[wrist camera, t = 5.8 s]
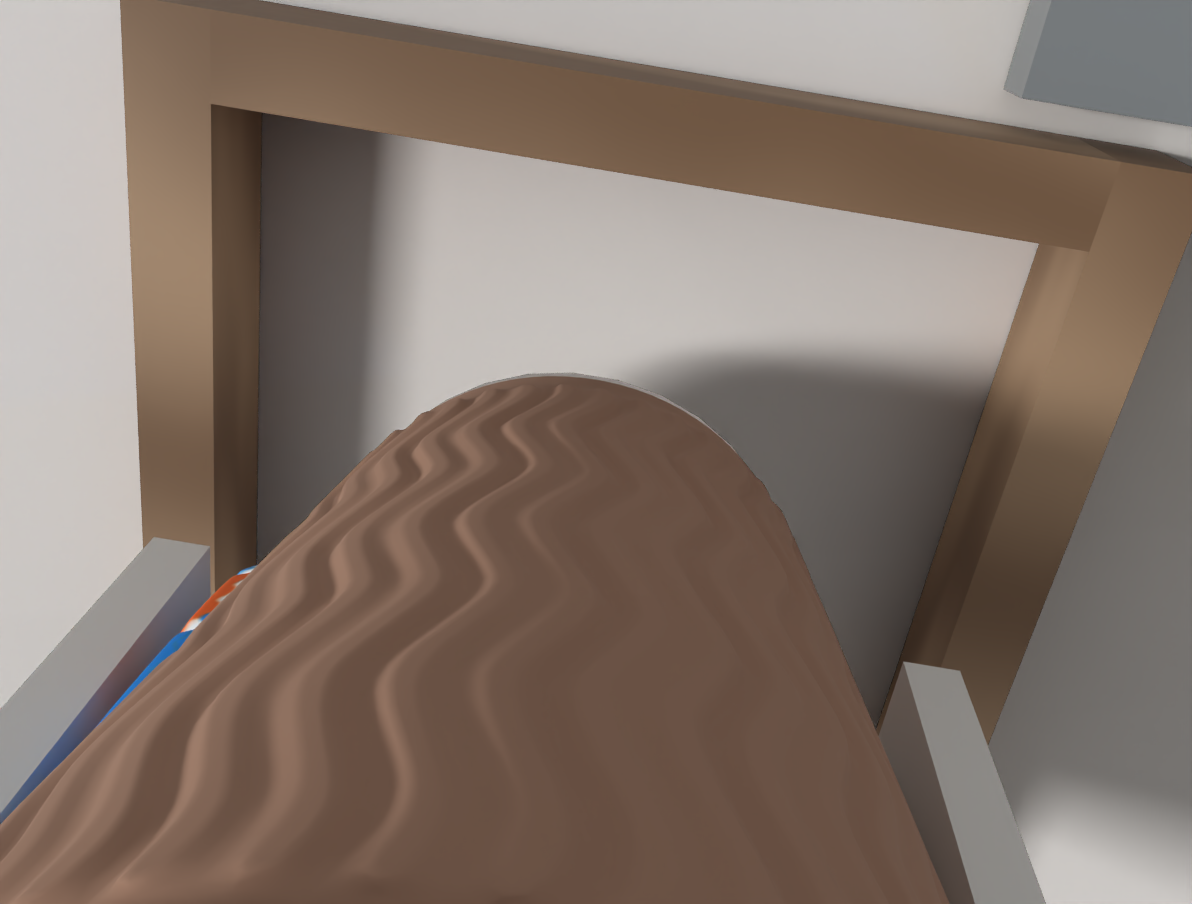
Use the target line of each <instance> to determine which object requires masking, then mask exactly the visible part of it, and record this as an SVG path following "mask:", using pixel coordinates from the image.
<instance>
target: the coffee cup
mask: <svg viewBox="0 0 1192 904" xmlns="http://www.w3.org/2000/svg"><path fill="white" fill-rule="evenodd" d="M0 904H950V903H949V901H948V898H947V896H946V894H945V891H944V889H943V887H942V885H941V882H940V880H939V878H938V876H937V873H936V871H935V869H934V866H933V864H932V862H931V860H930V857H929V855H928V852H927V850H926V848H925V845H924V843H923V840H922V838H921V835H920V833H919V831H918V828H917V826H916V823H915V821H914V819H913V816H912V814H911V811H910V809H909V807H908V804H907V802H906V800H905V797H904V795H903V792H902V790H901V788H900V785H899V783H898V781H897V778H896V776H895V774H894V771H893V769H892V767H891V764H890V762H889V760H888V757H887V755H886V753H885V750H884V748H883V746H882V743H881V741H880V739H879V737H878V734H877V732H876V730H875V727H874V725H873V722H872V720H871V717H870V715H869V713H868V710H867V708H866V706H865V703H864V701H863V698H862V696H861V694H860V691H859V689H858V687H857V685H856V682H855V680H854V678H853V676H852V673H851V671H850V668H849V666H848V664H847V661H846V659H845V656H844V654H843V652H842V649H841V647H840V644H839V642H838V640H837V637H836V635H835V633H834V630H833V628H832V625H831V623H830V621H829V618H828V616H827V614H826V611H825V609H824V607H823V605H822V602H821V600H820V598H819V595H818V593H817V591H816V589H815V586H814V584H813V582H812V579H811V576H810V574H809V571H808V569H807V567H806V564H805V562H804V560H803V557H802V555H801V553H800V550H799V548H798V546H797V543H796V541H795V539H794V537H793V536H792V534H791V531H790V528H789V526H788V524H787V521H786V519H785V517H784V515H783V513H782V511H781V509H780V508H779V507H778V506H777V505H776V504H775V503H774V502H773V501H772V500H771V498H770V496H769V493H768V491H767V490H766V488H765V486H764V484H763V483H762V482H761V481H760V480H759V479H758V478H756V477H755V475H754V474H753V473H752V471H751V470H750V469H749V467H748V466H747V465H746V464H745V462H744V461H743V460H742V459H741V458H740V456H739V455H738V454H737V452H736V451H735V450H734V449H733V447H732V446H731V445H730V444H729V443H728V442H726V441H725V440H724V439H723V438H722V437H721V436H720V435H718V434H717V433H716V432H715V431H714V430H713V429H712V428H711V427H709V426H708V425H707V424H706V423H705V422H704V421H703V420H701V419H700V418H699V417H697V416H696V415H694V414H692V413H690V412H689V411H687V410H685V409H684V408H682V407H680V406H678V405H677V404H675V403H673V402H672V401H670V400H668V399H666V398H665V397H663V396H661V395H659V394H656V393H653V392H650V391H647V390H645V389H642V388H639V387H636V386H633V385H631V384H628V383H625V382H622V381H619V380H614V379H608V378H602V377H596V376H590V375H583V374H577V373H547V374H526V375H521V376H516V377H512V378H507V379H502V380H498V381H493V382H488V383H484V384H482V385H480V386H477V387H475V388H473V389H471V390H468V391H466V392H464V393H461V394H459V395H457V396H454V397H452V398H450V399H447V400H445V401H444V402H443V403H441V404H440V405H438V406H437V407H435V408H434V409H432V410H430V411H427V412H424V413H422V414H420V415H419V416H418V417H417V418H416V419H415V420H414V422H413V423H412V424H411V425H409V426H408V427H407V428H406V429H404V430H395V431H394V432H393V433H391V434H390V435H389V436H388V437H387V438H386V439H385V440H384V441H383V442H382V443H381V444H380V445H379V446H378V447H377V448H376V449H375V450H374V451H371V452H370V453H369V454H368V455H367V456H366V457H365V458H364V459H363V460H362V461H361V462H360V463H359V464H358V465H357V466H356V467H355V468H354V469H353V470H352V471H351V472H350V473H349V474H348V475H347V476H346V477H345V478H344V479H343V480H342V481H341V482H340V483H339V484H338V485H337V486H336V487H335V488H334V489H333V490H332V491H331V492H330V493H329V494H328V495H327V496H326V497H325V498H324V499H323V500H322V501H321V502H320V503H319V504H318V505H317V506H316V507H315V508H314V509H313V510H312V512H311V513H310V514H309V516H308V517H307V518H306V519H305V520H304V521H303V522H302V523H301V524H300V525H299V526H298V527H297V528H296V529H294V530H293V531H292V532H291V533H289V534H288V535H287V536H286V537H285V538H284V539H283V540H282V541H281V542H280V543H279V544H278V545H277V546H276V547H275V548H274V549H273V550H272V551H271V552H270V553H269V554H268V555H267V556H266V557H265V558H264V559H263V560H262V561H261V562H260V563H259V564H258V565H255V566H252V567H249V568H246V569H243V570H241V571H240V572H239V573H238V574H237V575H235V576H233V577H231V578H230V579H229V580H228V581H227V582H226V583H224V584H223V585H222V586H221V587H220V588H219V589H218V590H217V591H216V592H215V593H214V594H213V595H212V596H211V597H210V598H209V599H208V600H207V601H206V602H205V603H204V604H203V605H202V606H201V608H200V609H199V610H198V611H197V612H196V613H195V614H194V615H193V616H192V617H191V618H190V620H189V621H188V622H187V624H186V625H185V627H184V628H183V629H182V631H181V632H180V633H179V634H177V635H176V636H175V637H174V638H173V639H171V640H170V642H169V643H168V644H167V645H166V646H165V647H164V648H163V649H162V650H161V651H160V653H159V654H158V655H157V656H156V657H155V658H154V659H153V661H152V662H151V663H150V664H149V665H148V666H147V667H146V668H145V670H144V671H143V672H142V673H141V674H140V675H139V677H138V678H137V679H136V680H135V681H134V682H133V683H132V685H131V686H130V687H129V688H128V689H127V690H126V692H125V693H124V694H123V695H122V696H121V697H120V699H119V700H118V701H117V702H116V703H115V704H114V706H113V707H112V708H111V709H110V710H109V712H108V713H107V714H106V715H105V716H104V718H103V719H102V720H101V721H100V722H99V724H98V725H97V726H96V727H95V728H94V730H93V731H92V732H91V733H90V734H89V735H88V736H87V737H86V738H85V739H84V740H83V741H82V742H81V743H80V744H79V745H78V746H77V747H76V748H75V749H74V750H73V751H72V752H71V753H70V754H69V755H68V756H67V757H66V758H65V759H64V760H63V761H62V762H61V763H60V764H59V765H58V766H57V767H56V768H55V769H54V770H53V771H52V772H51V773H50V774H49V775H48V776H47V777H46V778H45V779H44V780H43V781H42V782H41V783H40V784H39V785H38V786H37V787H36V788H35V789H34V790H33V791H32V792H31V793H30V794H29V795H28V796H27V797H26V798H25V799H24V800H23V801H22V802H21V803H20V804H19V805H18V806H17V807H16V809H15V810H14V811H13V812H12V813H11V814H10V815H9V816H8V817H7V818H6V819H5V820H4V821H3V822H2V823H1V824H0Z"/></svg>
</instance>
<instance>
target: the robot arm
mask: <svg viewBox="0 0 1192 904" xmlns="http://www.w3.org/2000/svg"><path fill="white" fill-rule="evenodd" d="M210 597H211V587H210V546H205V545H199V544H193V543H187V542H181V541H175V540H169V539H163V538H157V537H153V538H152V540H151V541H150V542H149V543H148V544H147V545H146V546H145V547H144V549H143V550H142V551H141V552H140V553H139V554H138V555H137V556H136V558H135V559H134V560H133V561H132V562H131V563H130V564H129V565H128V567H127V568H126V569H125V570H124V571H123V572H122V573H121V574H120V576H119V577H118V578H117V579H116V580H115V581H114V582H113V583H112V585H111V586H110V587H109V588H108V589H107V590H106V591H105V592H104V594H103V595H102V596H101V597H100V598H99V599H98V600H97V601H96V603H95V604H94V605H93V606H92V607H91V608H90V609H89V610H88V612H87V613H86V614H85V615H84V616H83V617H82V618H81V619H80V621H79V622H78V623H77V624H76V625H75V626H74V627H73V628H72V629H71V631H70V632H69V633H68V634H67V635H66V636H65V637H64V638H63V640H62V641H61V642H60V643H59V644H58V645H57V646H56V647H55V649H54V650H53V651H52V652H51V653H50V654H49V655H48V656H47V658H46V659H45V660H44V661H43V662H42V663H41V664H40V665H39V667H38V668H37V669H36V670H35V671H34V672H33V673H32V674H31V676H30V677H29V678H28V679H27V680H26V681H25V682H24V683H23V685H22V686H21V687H20V688H19V689H18V690H17V691H16V692H15V694H14V695H13V696H12V697H11V698H10V699H9V700H8V701H7V703H6V704H5V705H4V706H3V707H2V708H1V709H0V824H1V823H2V822H3V821H4V820H5V819H6V818H7V817H8V816H9V815H10V814H11V813H12V812H13V811H14V810H15V809H16V807H17V806H18V805H19V804H20V803H21V802H22V801H23V800H24V799H25V798H26V797H27V796H28V795H29V794H30V793H31V792H32V791H33V790H34V789H35V788H36V787H37V786H38V785H39V784H40V783H41V782H42V781H43V780H44V779H45V778H46V777H47V776H48V775H49V774H50V773H51V772H52V771H53V770H54V769H55V768H56V767H57V766H58V765H59V764H60V763H61V762H62V761H63V760H64V759H65V758H66V757H67V756H68V755H69V754H70V753H71V752H72V751H73V750H74V749H75V748H76V747H77V746H78V745H79V744H80V743H81V742H82V741H83V740H84V739H85V738H86V737H87V736H88V735H89V734H90V733H91V732H92V731H93V730H94V728H95V727H96V726H97V725H98V724H99V722H100V721H101V720H102V719H103V718H104V716H105V715H106V714H107V713H108V712H109V710H110V709H111V708H112V707H113V706H114V704H115V703H116V702H117V701H118V700H119V699H120V697H121V696H122V695H123V694H124V693H125V692H126V690H127V689H128V688H129V687H130V686H131V685H132V683H133V682H134V681H135V680H136V679H137V678H138V677H139V675H140V674H141V673H142V672H143V671H144V670H145V668H146V667H147V666H148V665H149V664H150V663H151V662H152V661H153V659H154V658H155V657H156V656H157V655H158V654H159V653H160V651H161V650H162V649H163V648H164V647H165V646H166V645H167V644H168V643H169V642H170V640H171V639H173V638H174V637H175V636H176V635H177V634H179V633H180V632H181V631H182V629H183V628H184V627H185V625H186V624H187V622H188V621H189V620H190V618H191V617H192V616H193V615H194V614H195V613H196V612H197V611H198V610H199V609H200V608H201V606H202V605H203V604H204V603H205V602H206V601H207V600H208V599H209V598H210ZM878 737H879V739H880V741H881V743H882V746H883V748H884V750H885V753H886V755H887V757H888V760H889V762H890V764H891V767H892V769H893V771H894V774H895V776H896V778H897V781H898V783H899V785H900V788H901V790H902V792H903V795H904V797H905V800H906V802H907V804H908V807H909V809H910V811H911V814H912V816H913V819H914V821H915V823H916V826H917V828H918V831H919V833H920V835H921V838H922V840H923V843H924V845H925V848H926V850H927V852H928V855H929V857H930V860H931V862H932V864H933V866H934V869H935V871H936V873H937V876H938V878H939V880H940V882H941V885H942V887H943V889H944V891H945V894H946V896H947V898H948V901H949V903H950V904H1046V902H1045V899H1044V897H1043V894H1042V891H1041V889H1040V886H1039V883H1038V881H1037V878H1036V875H1035V872H1034V870H1033V867H1032V864H1031V862H1030V859H1029V856H1028V853H1027V851H1026V848H1025V845H1024V843H1023V840H1022V837H1021V835H1020V832H1019V829H1018V826H1017V824H1016V821H1015V818H1014V816H1013V813H1012V810H1011V807H1010V805H1009V802H1008V799H1007V797H1006V794H1005V791H1004V789H1003V786H1002V783H1001V780H1000V778H999V775H998V772H997V770H996V767H995V764H994V761H993V759H992V756H991V753H990V751H989V748H988V745H987V743H986V740H985V737H984V734H983V732H982V729H981V726H980V724H979V721H978V718H977V715H976V713H975V710H974V707H973V705H972V702H971V699H970V697H969V694H968V691H967V688H966V686H965V683H964V680H963V678H962V675H961V672H960V671H958V670H952V669H946V668H940V667H934V666H928V665H922V664H916V663H910V662H904V661H903V664H902V667H901V670H900V673H899V676H898V679H897V682H896V685H895V688H894V691H893V694H892V697H891V700H890V703H889V706H888V709H887V712H886V715H885V718H884V721H883V724H882V727H881V730H880V733H879V736H878Z"/></svg>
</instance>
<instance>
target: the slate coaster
mask: <svg viewBox="0 0 1192 904" xmlns="http://www.w3.org/2000/svg"><path fill="white" fill-rule="evenodd" d="M1004 90H1006V91H1008V92H1010V93H1012V94H1014V95H1016V96H1018V97H1020V98H1023V99H1029V100H1035V101H1041V102H1047V103H1053V104H1059V105H1065V106H1071V107H1077V108H1083V109H1089V110H1095V111H1101V112H1107V113H1113V114H1119V115H1125V116H1131V117H1137V118H1143V119H1149V120H1155V121H1161V122H1167V123H1173V124H1179V125H1185V126H1191V127H1192V0H1030V3H1029V6H1028V9H1027V13H1026V16H1025V19H1024V22H1023V26H1022V29H1021V32H1020V36H1019V39H1018V42H1017V46H1016V49H1015V52H1014V56H1013V59H1012V62H1011V66H1010V69H1009V72H1008V76H1007V79H1006V82H1005V86H1004Z"/></svg>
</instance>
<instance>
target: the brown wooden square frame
mask: <svg viewBox="0 0 1192 904" xmlns="http://www.w3.org/2000/svg"><path fill="white" fill-rule="evenodd" d="M120 9H121V33H122V56H123V80H124V104H125V127H126V151H127V175H128V199H129V222H130V246H131V270H132V294H133V317H134V341H135V365H136V388H137V412H138V436H139V460H140V483H141V507H142V531H143V549H144V547H145V546H146V545H147V544H148V543H149V542H150V541H151V540H152V538H153V537H157V538H163V539H169V540H175V541H181V542H187V543H193V544H199V545H205V546H210V587H211V596H212V595H213V594H214V593H215V592H216V591H217V590H218V589H219V588H220V587H221V586H222V585H223V584H224V583H226V582H227V581H228V580H229V579H230V578H231V577H233V576H235V575H237V574H238V573H239V572H240V571H241V570H243V569H246V568H249V567H252V566H255V565H256V554H257V470H258V385H259V300H260V216H261V131H262V112H263V113H268V114H274V115H280V116H286V117H292V118H298V119H304V120H310V121H316V122H322V123H328V124H334V125H340V126H346V127H352V128H357V129H363V130H369V131H375V132H381V133H387V134H393V135H399V136H405V137H411V138H417V139H423V140H429V141H435V142H440V143H446V144H452V145H458V146H464V147H470V148H476V149H482V150H488V151H494V152H500V153H506V154H512V155H518V156H524V157H529V158H535V159H541V160H547V161H553V162H559V163H565V164H571V165H577V166H583V167H589V168H595V169H601V170H607V171H613V172H618V173H624V174H630V175H636V176H642V177H648V178H654V179H660V180H666V181H672V182H678V183H684V184H690V185H696V186H702V187H707V188H713V189H719V190H725V191H731V192H737V193H743V194H749V195H755V196H761V197H767V198H773V199H779V200H785V201H790V202H796V203H802V204H808V205H814V206H820V207H826V208H832V209H838V210H844V211H850V212H856V213H862V214H868V215H874V216H879V217H885V218H891V219H897V220H903V221H909V222H915V223H921V224H927V225H933V226H939V227H945V228H951V229H957V230H963V231H968V232H974V233H980V234H986V235H992V236H998V237H1004V238H1010V239H1016V240H1022V241H1028V242H1034V243H1039V246H1038V249H1037V252H1036V255H1035V257H1034V260H1033V263H1032V266H1031V269H1030V272H1029V275H1028V278H1027V281H1026V284H1025V287H1024V290H1023V293H1022V296H1021V299H1020V302H1019V305H1018V308H1017V311H1016V314H1015V317H1014V320H1013V323H1012V326H1011V329H1010V332H1009V335H1008V338H1007V341H1006V344H1005V347H1004V350H1003V353H1002V356H1001V359H1000V362H999V365H998V368H997V371H996V374H995V377H994V380H993V383H992V386H991V389H990V392H989V395H988V397H987V400H986V403H985V406H984V409H983V412H982V415H981V418H980V421H979V424H978V427H977V430H976V433H975V436H974V439H973V442H972V445H971V448H970V451H969V454H968V457H967V460H966V463H965V466H964V469H963V472H962V475H961V478H960V481H959V484H958V487H957V490H956V493H955V496H954V499H953V502H952V505H951V508H950V511H949V514H948V517H947V520H946V523H945V526H944V529H943V532H942V535H941V537H940V540H939V543H938V546H937V549H936V552H935V555H934V558H933V561H932V564H931V567H930V570H929V573H928V576H927V579H926V582H925V585H924V588H923V591H922V594H921V597H920V600H919V603H918V606H917V609H916V612H915V615H914V618H913V621H912V624H911V627H910V630H909V633H908V636H907V639H906V642H905V645H904V648H903V651H902V654H901V657H900V660H899V663H898V666H897V669H896V672H895V675H894V677H893V680H892V683H891V686H890V689H889V692H888V695H887V698H886V701H885V704H884V707H883V710H882V713H881V716H880V719H879V722H878V725H877V728H876V732H877V734H878V736H879V733H880V730H881V727H882V724H883V721H884V718H885V715H886V712H887V709H888V706H889V703H890V700H891V697H892V694H893V691H894V688H895V685H896V682H897V679H898V676H899V673H900V670H901V667H902V664H903V661H904V662H910V663H916V664H922V665H928V666H934V667H940V668H946V669H952V670H958V671H960V672H961V675H962V678H963V680H964V683H965V686H966V688H967V691H968V694H969V697H970V699H971V702H972V705H973V707H974V710H975V713H976V715H977V718H978V721H979V724H980V726H981V729H982V732H983V734H984V737H985V740H986V743H987V745H988V744H989V741H990V739H991V736H992V734H993V731H994V729H995V726H996V724H997V721H998V719H999V716H1000V714H1001V711H1002V709H1003V706H1004V704H1005V701H1006V699H1007V696H1008V694H1009V691H1010V688H1011V686H1012V683H1013V681H1014V678H1015V676H1016V673H1017V671H1018V668H1019V666H1020V663H1021V661H1022V658H1023V656H1024V653H1025V651H1026V648H1027V646H1028V643H1029V641H1030V638H1031V636H1032V633H1033V631H1034V628H1035V626H1036V623H1037V621H1038V618H1039V616H1040V613H1041V610H1042V608H1043V605H1044V603H1045V600H1046V598H1047V595H1048V593H1049V590H1050V588H1051V585H1052V583H1053V580H1054V578H1055V575H1056V573H1057V570H1058V568H1059V565H1060V563H1061V560H1062V558H1063V555H1064V553H1065V550H1066V548H1067V545H1068V543H1069V540H1070V537H1071V535H1072V532H1073V530H1074V527H1075V525H1076V522H1077V520H1078V517H1079V515H1080V512H1081V510H1082V507H1083V505H1084V502H1085V500H1086V497H1087V495H1088V492H1089V490H1090V487H1091V485H1092V482H1093V480H1094V477H1095V475H1096V472H1097V470H1098V467H1099V464H1100V462H1101V459H1102V457H1103V454H1104V452H1105V449H1106V447H1107V444H1108V442H1109V439H1110V437H1111V434H1112V432H1113V429H1114V427H1115V424H1116V422H1117V419H1118V417H1119V414H1120V412H1121V409H1122V407H1123V404H1124V402H1125V399H1126V397H1127V394H1128V391H1129V389H1130V386H1131V384H1132V381H1133V379H1134V376H1135V374H1136V371H1137V369H1138V366H1139V364H1140V361H1141V359H1142V356H1143V354H1144V351H1145V349H1146V346H1147V344H1148V341H1149V339H1150V336H1151V334H1152V331H1153V329H1154V326H1155V324H1156V321H1157V318H1158V316H1159V313H1160V311H1161V308H1162V306H1163V303H1164V301H1165V298H1166V296H1167V293H1168V291H1169V288H1170V286H1171V283H1172V281H1173V278H1174V276H1175V273H1176V271H1177V268H1178V266H1179V263H1180V261H1181V258H1182V256H1183V253H1184V251H1185V248H1186V245H1187V243H1188V240H1189V238H1190V235H1191V233H1192V167H1190V166H1188V165H1186V164H1184V163H1182V162H1180V161H1178V160H1176V159H1174V158H1171V157H1169V156H1167V155H1165V154H1163V153H1161V152H1159V151H1156V150H1150V149H1144V148H1138V147H1132V146H1126V145H1120V144H1114V143H1108V142H1102V141H1097V140H1091V139H1085V138H1079V137H1073V136H1067V135H1061V134H1055V133H1049V132H1043V131H1037V130H1031V129H1025V128H1019V127H1013V126H1007V125H1001V124H995V123H989V122H983V121H977V120H971V119H965V118H959V117H953V116H947V115H941V114H935V113H929V112H923V111H917V110H911V109H905V108H899V107H893V106H887V105H881V104H875V103H869V102H863V101H857V100H852V99H846V98H840V97H834V96H828V95H822V94H816V93H810V92H804V91H798V90H792V89H786V88H780V87H774V86H768V85H762V84H756V83H750V82H744V81H738V80H732V79H726V78H720V77H714V76H708V75H702V74H696V73H690V72H684V71H678V70H672V69H666V68H660V67H654V66H648V65H642V64H636V63H630V62H624V61H618V60H613V59H607V58H601V57H595V56H589V55H583V54H577V53H571V52H565V51H559V50H553V49H547V48H541V47H535V46H529V45H523V44H517V43H511V42H505V41H499V40H493V39H487V38H481V37H475V36H469V35H463V34H457V33H451V32H445V31H439V30H433V29H427V28H421V27H415V26H409V25H403V24H397V23H391V22H385V21H379V20H373V19H368V18H362V17H356V16H350V15H344V14H338V13H332V12H326V11H320V10H314V9H308V8H302V7H296V6H290V5H284V4H278V3H272V2H266V1H260V0H120Z"/></svg>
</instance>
